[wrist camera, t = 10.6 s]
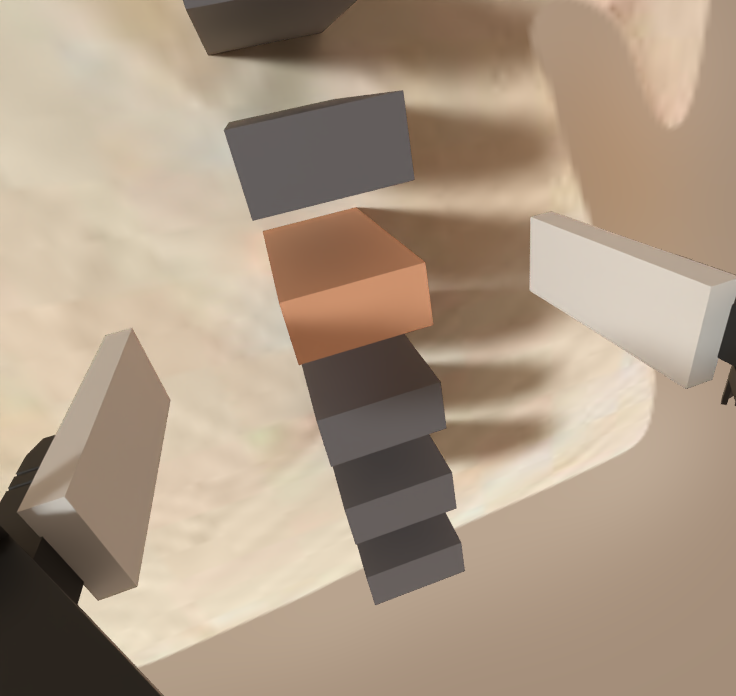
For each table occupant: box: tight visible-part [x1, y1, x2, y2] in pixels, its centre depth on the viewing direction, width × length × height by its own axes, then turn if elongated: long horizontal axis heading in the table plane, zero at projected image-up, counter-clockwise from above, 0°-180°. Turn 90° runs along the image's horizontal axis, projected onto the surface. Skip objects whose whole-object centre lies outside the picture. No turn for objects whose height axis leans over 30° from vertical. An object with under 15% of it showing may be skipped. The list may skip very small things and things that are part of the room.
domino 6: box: [357, 513, 465, 605], centre depth 27 cm, size 2×5×10 cm, turn 100°
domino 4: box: [302, 334, 446, 467], centre depth 22 cm, size 2×5×10 cm, turn 101°
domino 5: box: [333, 434, 456, 544], centre depth 24 cm, size 2×5×10 cm, turn 100°
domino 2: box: [224, 90, 414, 221], centre depth 17 cm, size 2×5×10 cm, turn 100°
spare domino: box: [263, 208, 433, 365], centre depth 19 cm, size 2×5×10 cm, turn 101°
